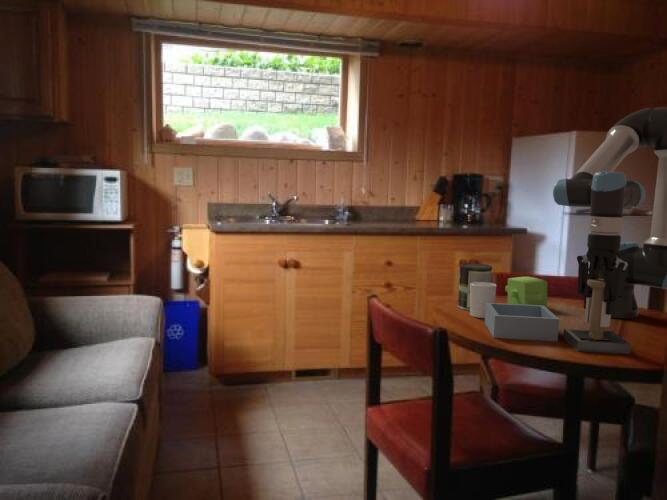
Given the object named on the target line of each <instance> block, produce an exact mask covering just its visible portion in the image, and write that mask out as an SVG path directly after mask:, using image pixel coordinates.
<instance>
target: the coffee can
mask: <svg viewBox="0 0 667 500" xmlns="http://www.w3.org/2000/svg"><path fill="white" fill-rule="evenodd" d="M492 270H493V266H492V265H490V264H486V263H476V262H475V263H473V262H472V263H471V262H465V263H461V264H459V279H458V295H457V296H458V299H457V308H458V309H461V310H464V311H469V312H470V283H471V282H488V283H492Z"/></svg>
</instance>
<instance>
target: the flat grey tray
mask: <svg viewBox="0 0 667 500" xmlns="http://www.w3.org/2000/svg"><path fill="white" fill-rule="evenodd" d="M589 332H590V331H589V329H583V328H582V329H581V328H563V333H562V335H563V336H562V337H563V339H564V340H565V341H566V342H567V343H568V344H569V345H570V346H572V348H574V349H575V350H576V351H577V352H583V353H584V352H585V353H589V352H590V353H602V354H603V353H604V354H605V353H606V354H607V353H608V354H620V355H622V354H623V355H630V354H631V345H632V344H631V343H630V342H628V341H627V340H626V339H625V338H623V337H621V336H620V335H619V334H617V333H616V332H614V331H612V330H604V332H603V338H601V339H609V340H610V342H609V341H596V340H591V339H593V338H590V337H589ZM581 339H585V340H581Z"/></svg>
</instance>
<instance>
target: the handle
mask: <svg viewBox="0 0 667 500" xmlns="http://www.w3.org/2000/svg"><path fill="white" fill-rule="evenodd" d="M587 284H588V285H589V286H590V287H591V288H592V289H593V293H592V300H591V307H590V314H589V323H588V330H589V331H590V332H589V337H590V338H593V339H601V338H603V332H604V331H605V328H606V327H600V322H601V310H602V301H604V300H605V291H604V288H605V282H604V280H603V279H593V280H591V279H589V280H587Z"/></svg>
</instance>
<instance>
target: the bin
mask: <svg viewBox="0 0 667 500" xmlns="http://www.w3.org/2000/svg"><path fill="white" fill-rule="evenodd" d="M484 324H485V326H486V328H487V329H488V331H489V333H490V334H491V336H492V338H494V339H506V340H508V339H509V340H521V341H522V340H526V341H541V342H542V341H544V342H558V341H559V330H560V329H559V327H560V318H559V317H558V316H556V314H554V313H553V312H552V311H551V310H550V309H549V308H548V307H547V308H546V307H545V306H542V305H522V304H508V303H503V302H502V303H500V302H499V303H498V302H496V303H495V302H494V303H486V309H485V318H484Z"/></svg>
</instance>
